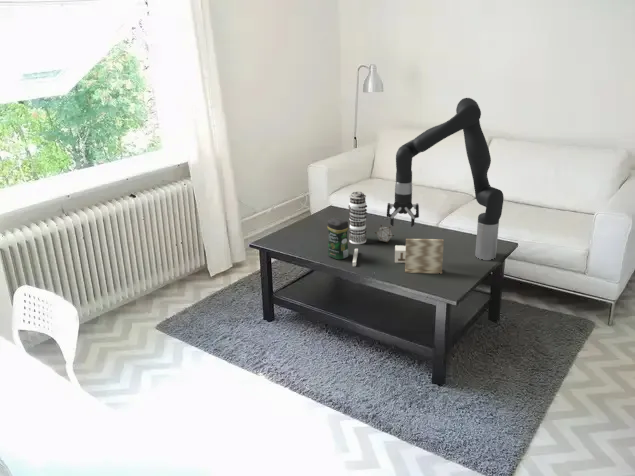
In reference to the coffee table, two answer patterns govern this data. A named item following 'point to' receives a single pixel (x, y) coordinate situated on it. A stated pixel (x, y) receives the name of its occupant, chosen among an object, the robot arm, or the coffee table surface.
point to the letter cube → (400, 254)
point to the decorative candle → (357, 218)
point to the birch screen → (424, 255)
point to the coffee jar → (337, 238)
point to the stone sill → (355, 257)
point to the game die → (384, 234)
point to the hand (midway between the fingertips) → (402, 225)
